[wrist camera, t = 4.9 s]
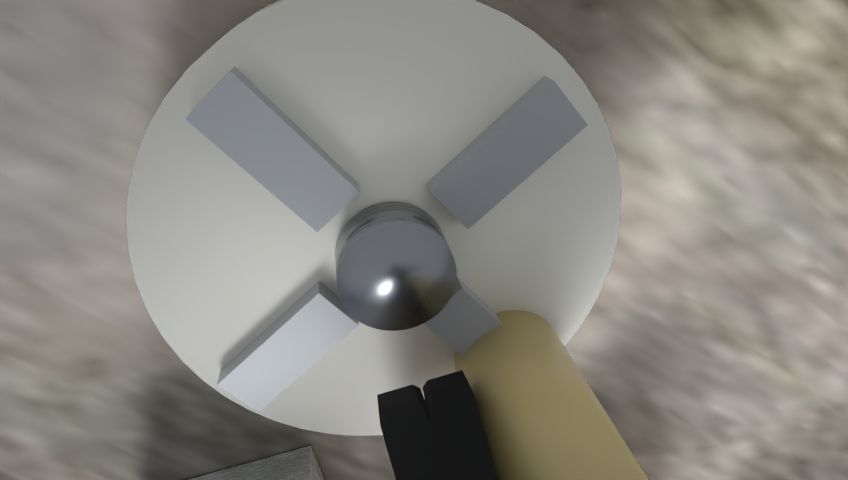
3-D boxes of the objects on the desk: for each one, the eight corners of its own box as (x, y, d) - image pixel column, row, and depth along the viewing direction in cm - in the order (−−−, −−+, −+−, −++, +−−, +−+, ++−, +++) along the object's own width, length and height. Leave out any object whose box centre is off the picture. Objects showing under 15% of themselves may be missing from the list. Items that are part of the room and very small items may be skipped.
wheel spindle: (351, 312, 10) (354, 343, 9) (321, 218, 9) (321, 243, 8) (453, 284, 10) (466, 313, 9) (433, 188, 9) (444, 211, 8)
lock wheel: (59, 209, 10) (-210, 472, 5) (388, -140, 9) (492, -281, 4) (379, 433, 14) (417, 726, 9) (653, 209, 12) (902, 397, 7)
